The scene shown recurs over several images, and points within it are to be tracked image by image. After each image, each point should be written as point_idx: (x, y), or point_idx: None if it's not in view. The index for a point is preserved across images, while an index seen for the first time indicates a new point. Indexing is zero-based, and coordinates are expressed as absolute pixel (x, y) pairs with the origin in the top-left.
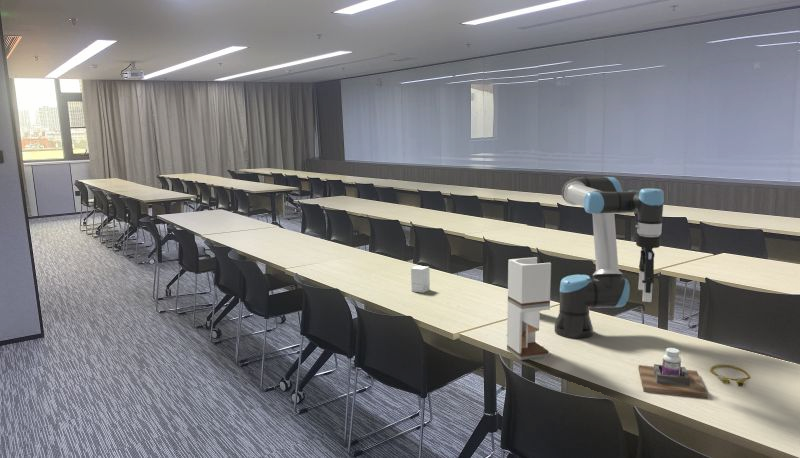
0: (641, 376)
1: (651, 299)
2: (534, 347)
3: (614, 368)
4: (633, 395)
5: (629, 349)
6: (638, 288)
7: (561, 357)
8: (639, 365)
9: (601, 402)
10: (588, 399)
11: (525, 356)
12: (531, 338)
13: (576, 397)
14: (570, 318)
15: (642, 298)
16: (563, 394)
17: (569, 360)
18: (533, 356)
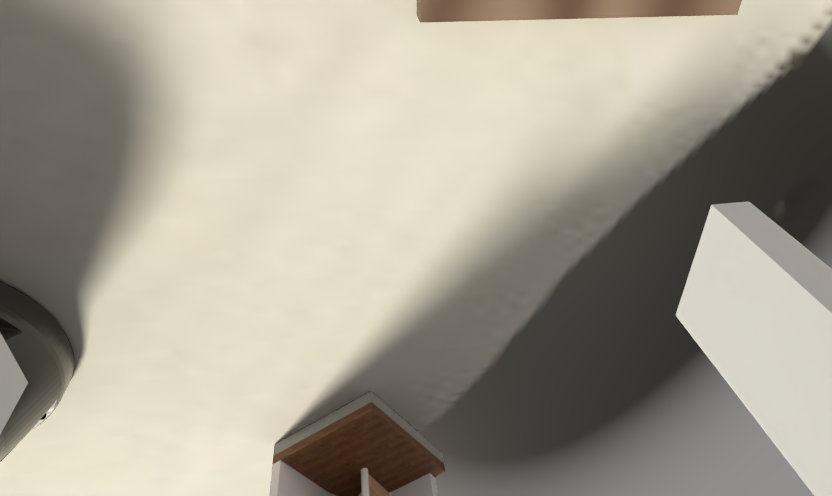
0: (597, 16)
1: (777, 226)
2: (349, 452)
3: (439, 143)
4: (765, 61)
5: (72, 53)
6: (7, 400)
7: (366, 351)
8: (425, 17)
9: (817, 190)
10: None
11: (432, 453)
12: (291, 485)
13: None
14: (2, 438)
15: (705, 342)
16: None
17: (392, 323)
18: (411, 432)
